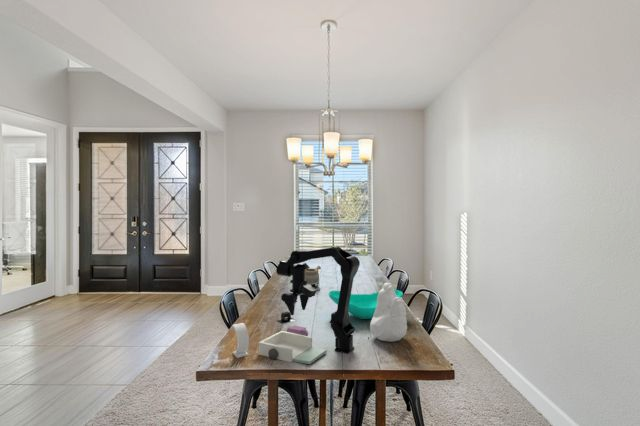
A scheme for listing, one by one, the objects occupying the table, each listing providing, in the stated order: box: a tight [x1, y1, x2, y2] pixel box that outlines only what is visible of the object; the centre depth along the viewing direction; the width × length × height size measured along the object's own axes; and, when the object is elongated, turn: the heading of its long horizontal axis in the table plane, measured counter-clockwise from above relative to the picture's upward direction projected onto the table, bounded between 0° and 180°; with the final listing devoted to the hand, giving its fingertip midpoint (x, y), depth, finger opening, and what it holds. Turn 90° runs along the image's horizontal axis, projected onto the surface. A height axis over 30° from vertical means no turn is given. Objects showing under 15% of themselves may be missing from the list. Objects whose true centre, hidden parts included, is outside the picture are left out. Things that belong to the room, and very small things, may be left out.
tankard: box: [305, 265, 322, 292], centre depth 274 cm, size 20×13×15 cm, turn 147°
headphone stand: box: [232, 322, 250, 359], centre depth 160 cm, size 5×6×12 cm
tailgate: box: [292, 347, 328, 365], centre depth 158 cm, size 1×13×8 cm
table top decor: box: [328, 289, 404, 320], centre depth 210 cm, size 40×28×13 cm
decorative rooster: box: [369, 282, 408, 343], centre depth 175 cm, size 25×16×25 cm, turn 1°
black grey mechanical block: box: [276, 311, 297, 324], centre depth 205 cm, size 12×7×5 cm, turn 130°
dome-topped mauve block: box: [286, 325, 309, 336], centre depth 180 cm, size 11×4×4 cm, turn 60°
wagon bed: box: [258, 330, 313, 363], centre depth 164 cm, size 16×19×5 cm
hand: (298, 312), depth 177 cm, fingers open, 9 cm apart
